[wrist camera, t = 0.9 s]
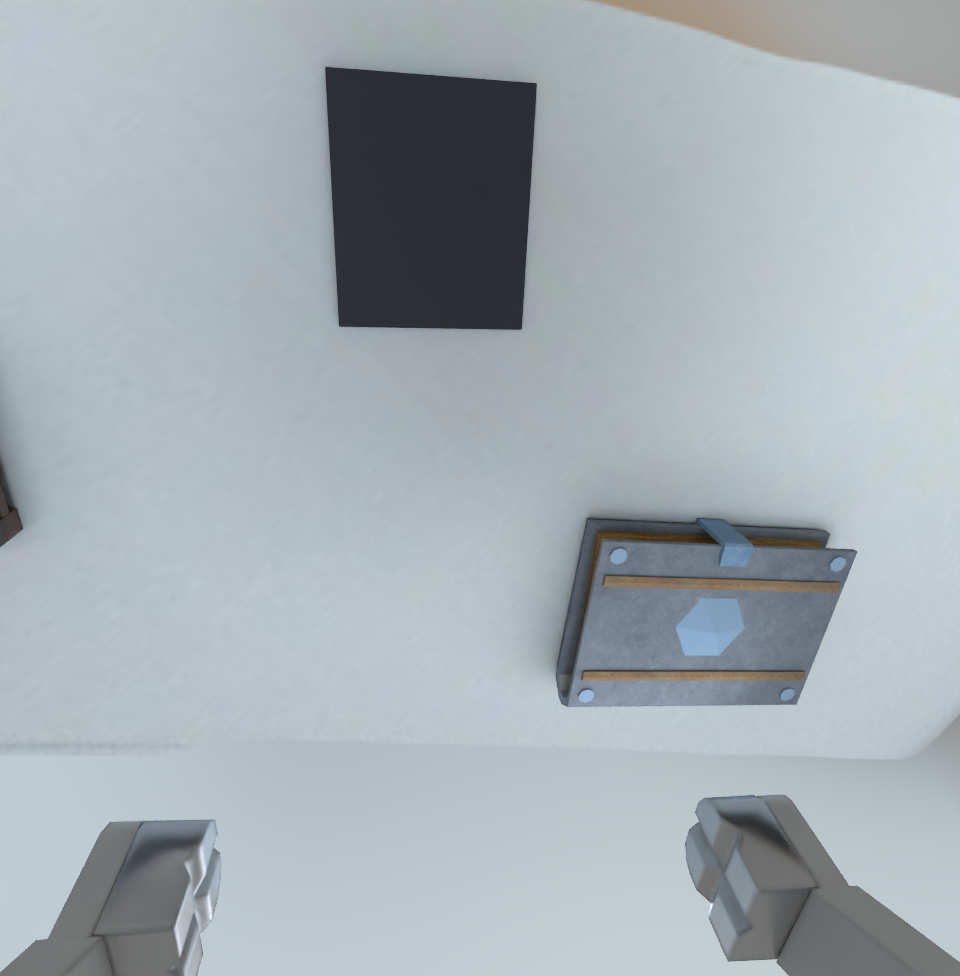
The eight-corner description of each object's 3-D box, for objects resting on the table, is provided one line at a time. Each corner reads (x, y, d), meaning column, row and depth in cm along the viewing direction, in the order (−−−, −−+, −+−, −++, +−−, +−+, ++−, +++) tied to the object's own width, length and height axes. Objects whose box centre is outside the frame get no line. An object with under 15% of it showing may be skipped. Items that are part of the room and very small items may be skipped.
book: (553, 681, 53) (568, 723, 48) (587, 512, 47) (608, 542, 42) (766, 680, 56) (799, 719, 52) (823, 523, 50) (867, 552, 46)
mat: (325, 68, 33) (325, 66, 33) (535, 84, 35) (536, 83, 35) (339, 325, 39) (339, 326, 38) (520, 328, 40) (521, 329, 40)
